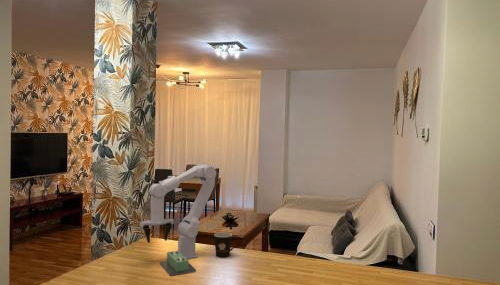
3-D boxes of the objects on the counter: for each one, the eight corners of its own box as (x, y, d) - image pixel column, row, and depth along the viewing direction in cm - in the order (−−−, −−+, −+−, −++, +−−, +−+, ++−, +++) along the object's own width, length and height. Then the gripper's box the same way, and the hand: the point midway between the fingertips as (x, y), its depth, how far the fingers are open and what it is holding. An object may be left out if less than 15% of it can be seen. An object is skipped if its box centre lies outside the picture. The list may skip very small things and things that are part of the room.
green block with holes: (167, 261, 174) (167, 252, 174) (178, 259, 177) (178, 250, 176) (176, 271, 162) (176, 262, 162) (188, 269, 164) (188, 260, 164)
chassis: (159, 263, 174) (159, 251, 174) (183, 260, 179) (183, 248, 179) (170, 276, 160) (170, 262, 159) (195, 271, 165) (196, 258, 165)
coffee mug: (210, 256, 184) (210, 235, 184) (219, 251, 192) (220, 231, 192) (231, 261, 179) (231, 239, 178) (240, 255, 187) (241, 234, 186)
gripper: (142, 214, 168) (142, 245, 169) (175, 211, 175) (175, 241, 176) (139, 210, 174) (139, 241, 175) (171, 208, 181) (170, 237, 182)
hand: (157, 241), depth 176 cm, fingers open, 7 cm apart
